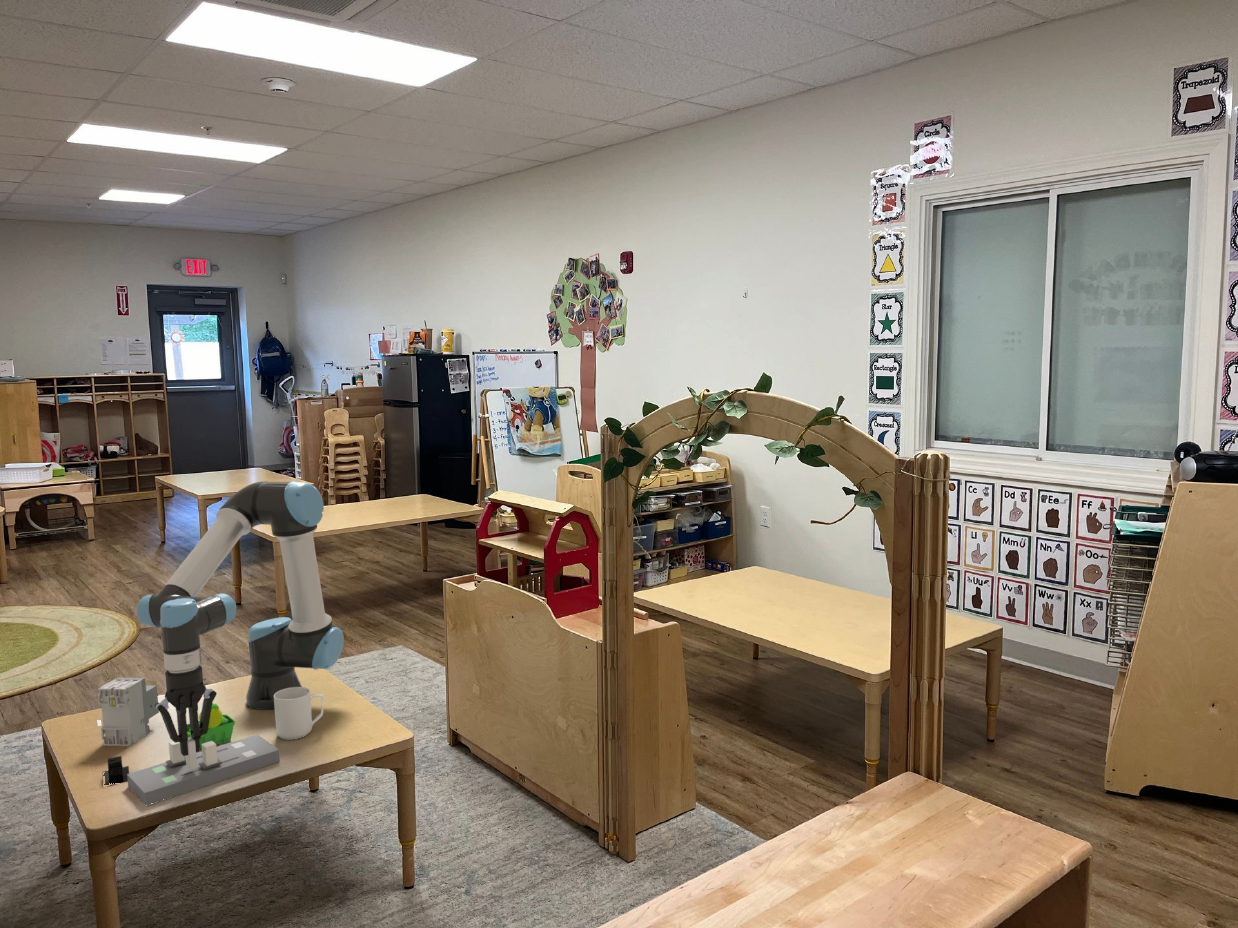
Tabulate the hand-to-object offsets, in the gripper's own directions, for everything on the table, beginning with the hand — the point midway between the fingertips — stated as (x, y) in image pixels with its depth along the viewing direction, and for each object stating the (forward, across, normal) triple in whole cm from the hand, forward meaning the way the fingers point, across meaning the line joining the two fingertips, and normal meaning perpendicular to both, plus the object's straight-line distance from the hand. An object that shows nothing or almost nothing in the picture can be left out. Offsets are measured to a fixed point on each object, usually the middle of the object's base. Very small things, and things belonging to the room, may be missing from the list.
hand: (191, 766), depth 205 cm
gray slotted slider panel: (+4, +4, +3) cm, 7 cm away
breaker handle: (+1, -1, +7) cm, 7 cm away
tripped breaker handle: (+1, +4, 0) cm, 4 cm away
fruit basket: (+5, +11, +20) cm, 24 cm away
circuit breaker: (+5, -1, +41) cm, 42 cm away
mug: (+5, +30, +10) cm, 32 cm away
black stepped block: (+5, -12, +18) cm, 22 cm away
